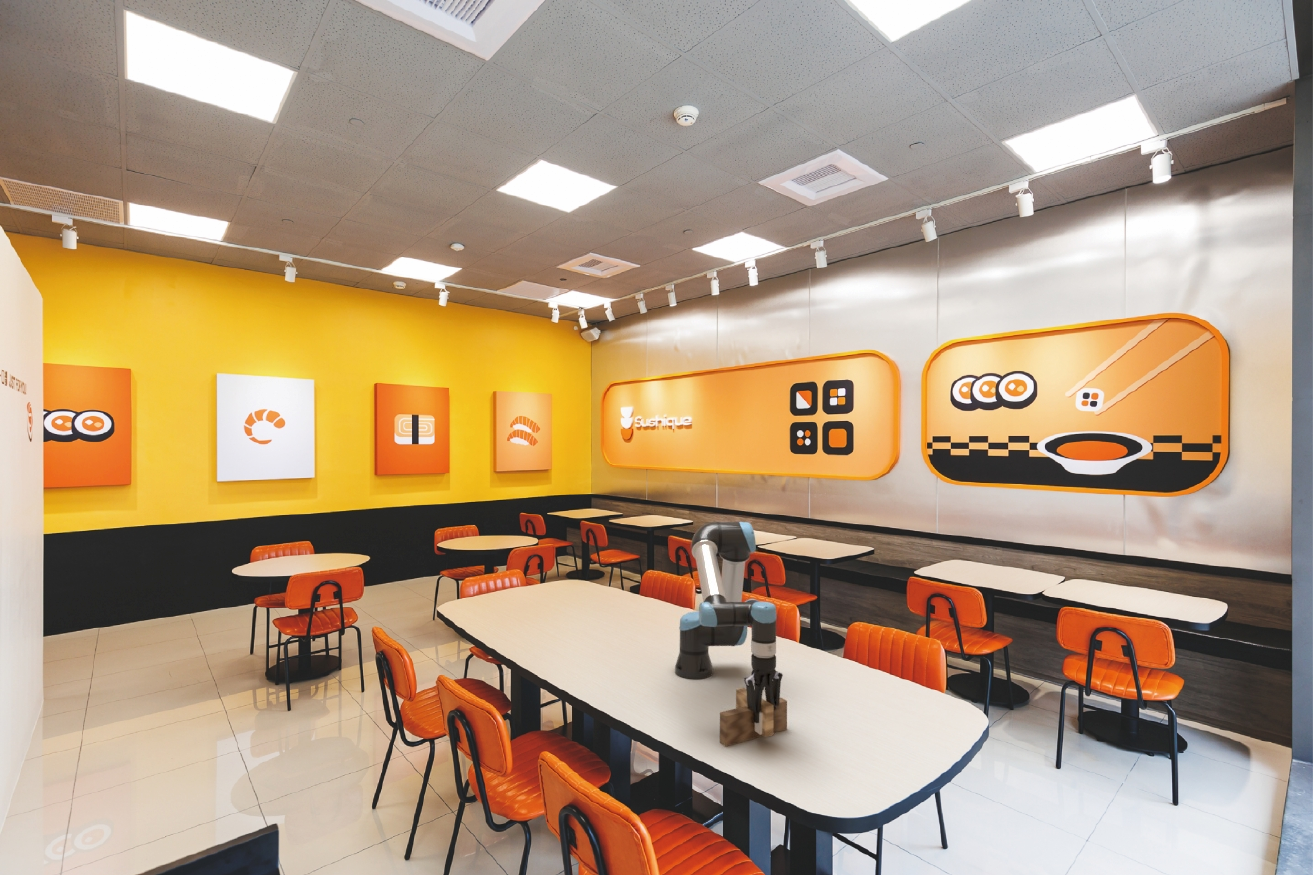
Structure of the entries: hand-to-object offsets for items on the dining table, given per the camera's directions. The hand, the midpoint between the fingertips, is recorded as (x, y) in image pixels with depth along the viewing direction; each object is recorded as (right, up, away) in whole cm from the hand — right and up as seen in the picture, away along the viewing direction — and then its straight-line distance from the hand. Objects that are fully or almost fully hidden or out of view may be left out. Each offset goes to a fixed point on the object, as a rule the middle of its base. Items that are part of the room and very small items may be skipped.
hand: (763, 731), depth 185 cm
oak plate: (-2, 0, +4) cm, 5 cm away
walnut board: (-2, -3, +4) cm, 6 cm away
